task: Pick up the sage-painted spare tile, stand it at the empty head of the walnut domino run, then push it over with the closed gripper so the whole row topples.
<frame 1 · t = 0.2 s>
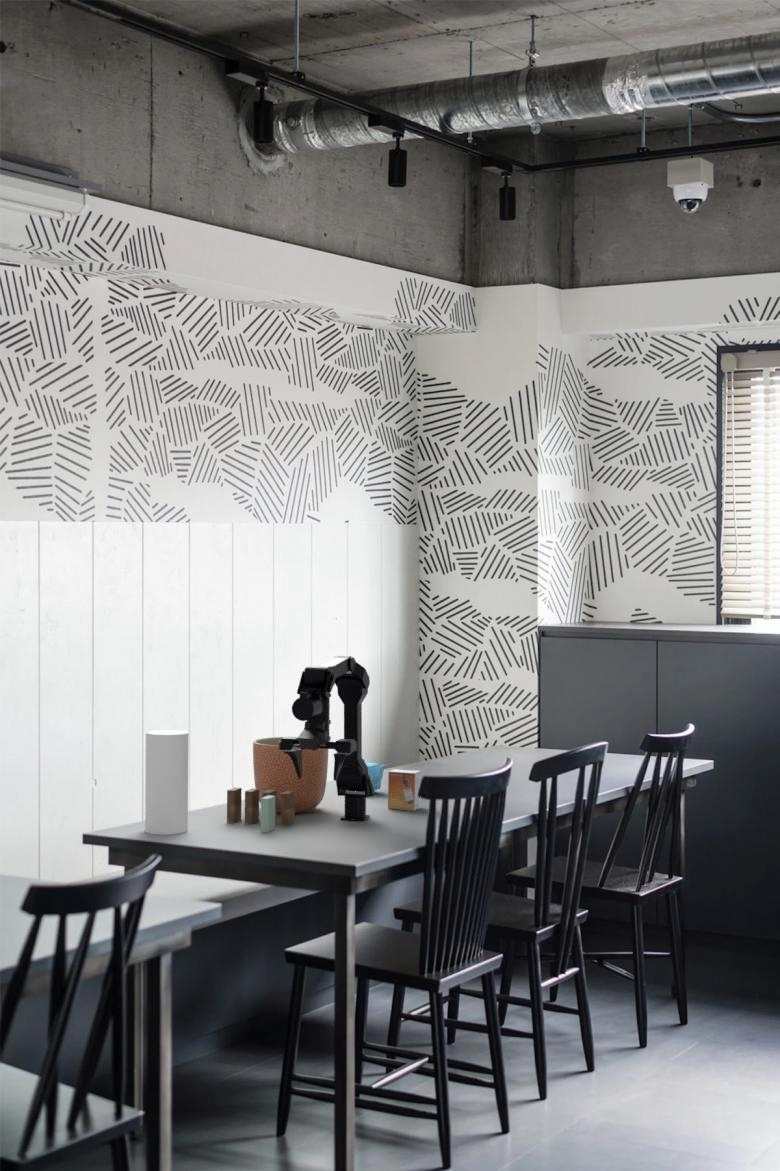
hand: (317, 779, 356), 14 cm above the table, fingers open, 9 cm apart
planter: (290, 810, 395), on the table
domino 2: (269, 823, 374), on the table
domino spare: (267, 830, 365), on the table
tall pillar cylinder: (166, 831, 363), on the table
domino 4: (234, 821, 377), on the table
domino 1: (287, 824, 373), on the table
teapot: (362, 793, 426), on the table
small box: (404, 809, 399), on the table
domino 3: (251, 822, 375), on the table
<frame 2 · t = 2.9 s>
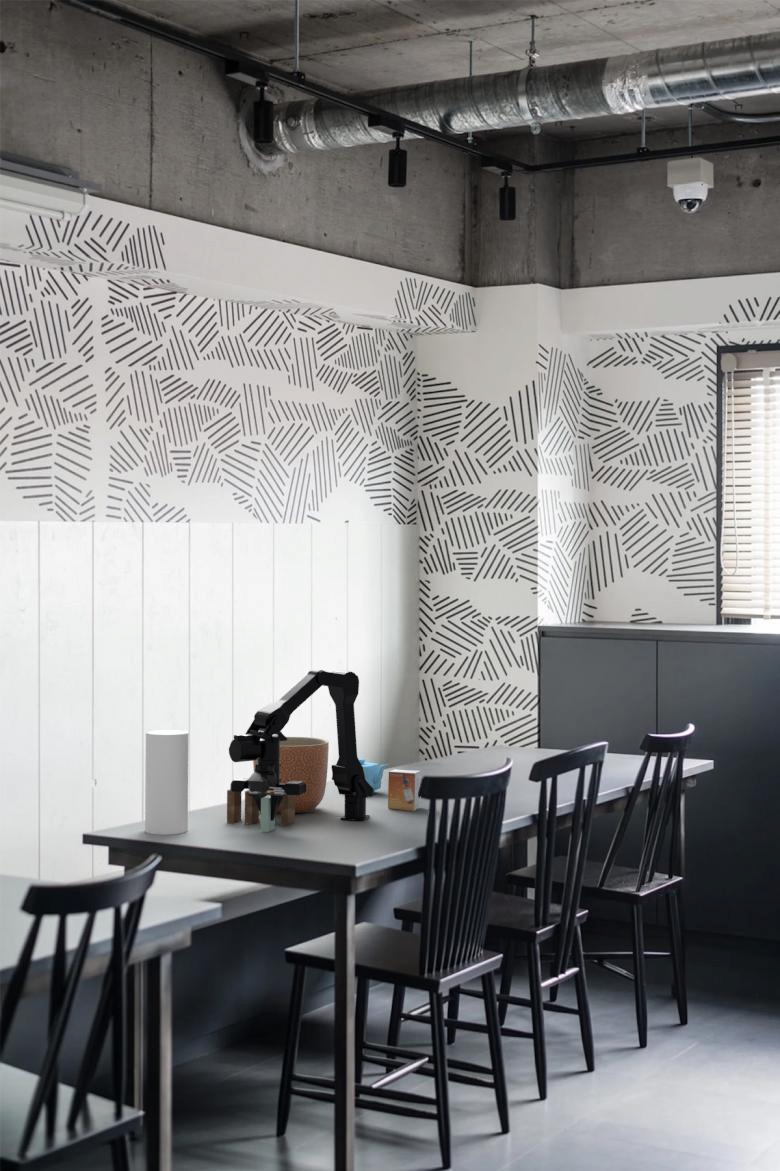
hand: (268, 820, 365), 3 cm above the table, fingers closed on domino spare, 2 cm apart
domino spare: (267, 830, 365), on the table, touching gripper
everything else where it was.
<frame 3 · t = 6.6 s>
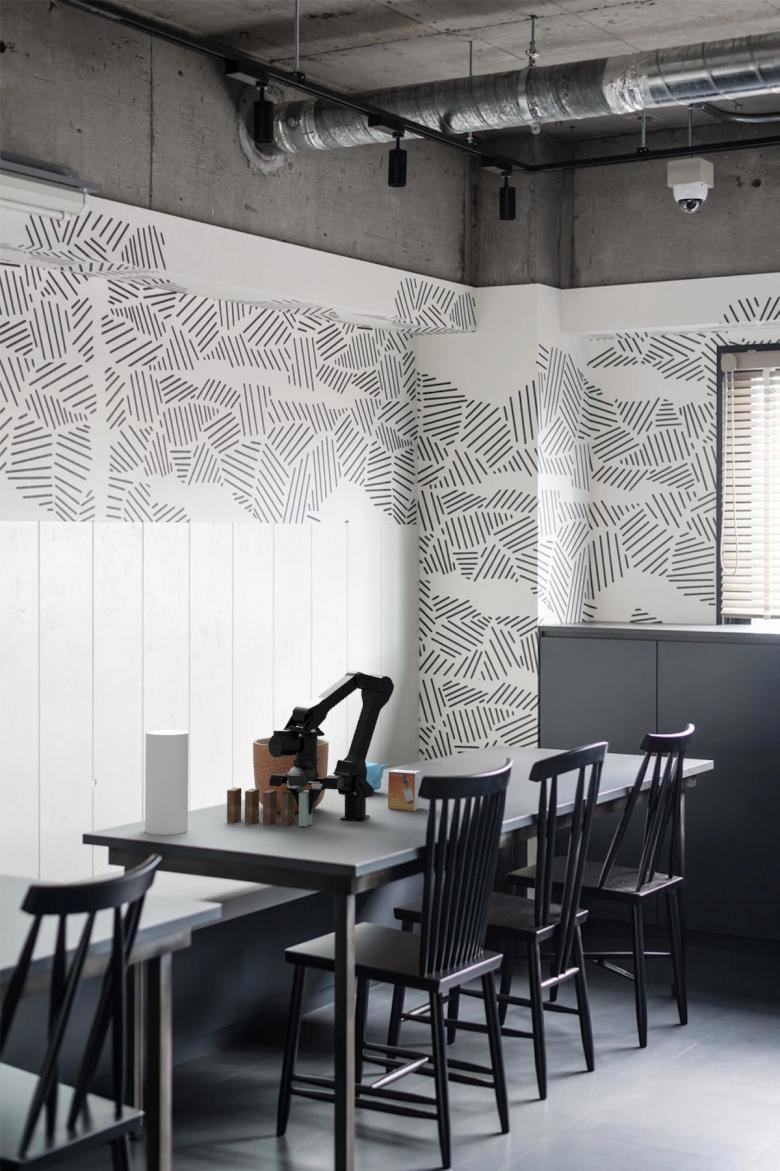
hand: (305, 814, 371), 3 cm above the table, fingers closed on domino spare, 2 cm apart
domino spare: (305, 824, 371), on the table, touching gripper
domino 1: (287, 824, 373), on the table, touching gripper
everything else where it was.
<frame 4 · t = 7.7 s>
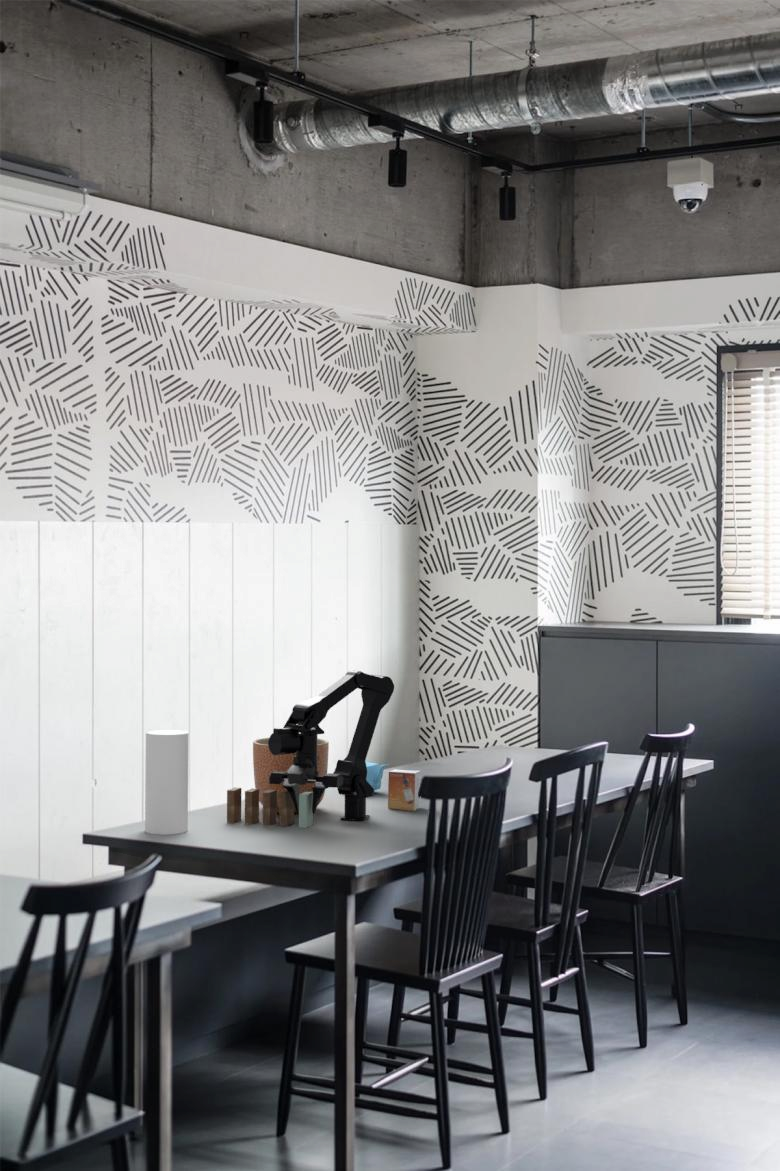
hand: (305, 812, 371), 4 cm above the table, fingers open, 4 cm apart
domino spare: (305, 825, 371), on the table
domino 1: (287, 824, 373), on the table, tilted 7°
everything else where it was.
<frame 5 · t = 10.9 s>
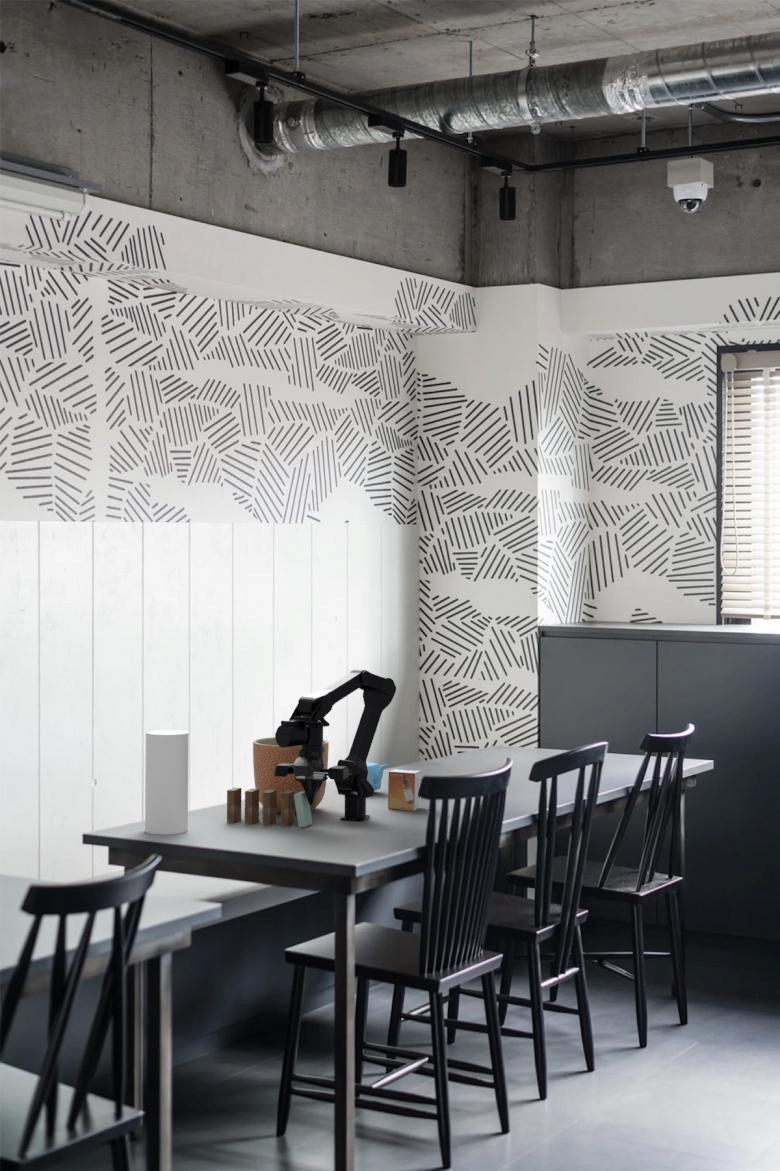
hand: (311, 804, 371), 6 cm above the table, fingers closed
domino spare: (305, 825, 371), on the table, tilted 10°
domino 1: (287, 824, 373), on the table
everything else where it was.
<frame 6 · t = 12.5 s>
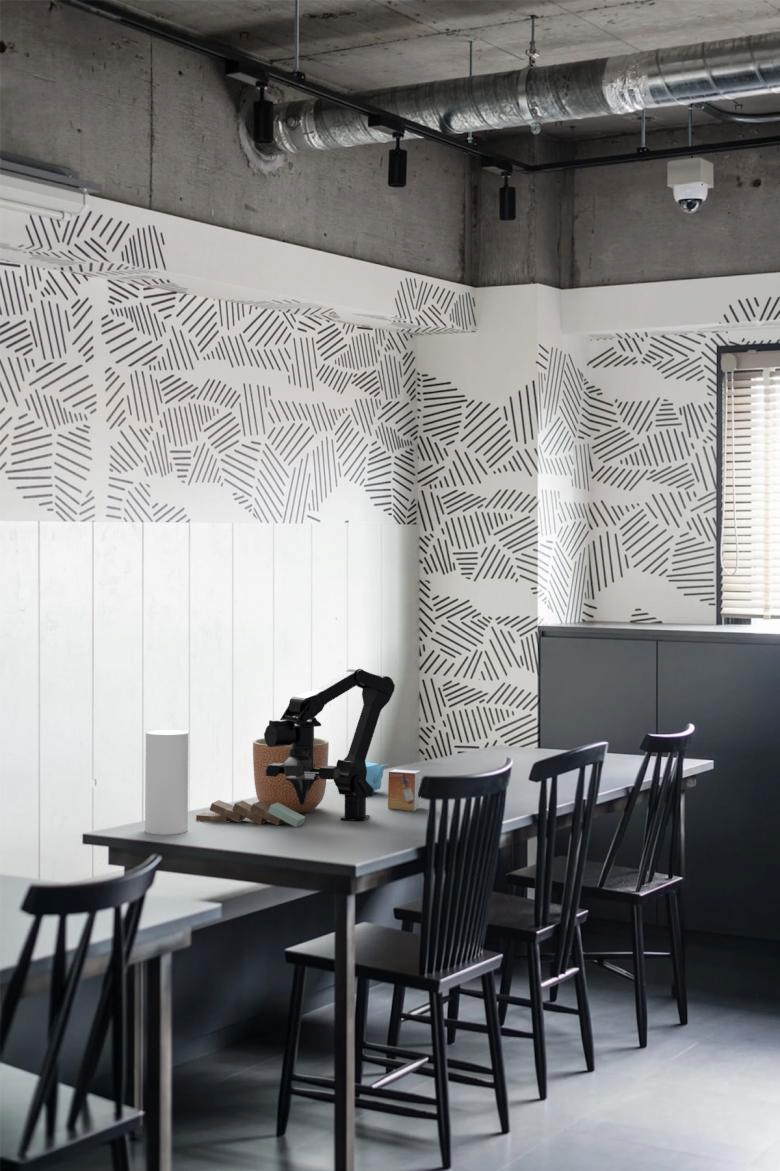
hand: (302, 804, 371), 5 cm above the table, fingers closed
domino 2: (264, 819, 375), point 1 cm above the table, tilted 67°
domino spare: (300, 822, 372), point 1 cm above the table, tilted 67°, touching domino 1
domino 4: (229, 819, 377), on the table, tilted 90°, touching domino 3
domino 1: (282, 820, 373), point 1 cm above the table, tilted 67°, touching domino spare
domino 3: (242, 816, 376), point 1 cm above the table, tilted 72°, touching domino 4
everything else where it was.
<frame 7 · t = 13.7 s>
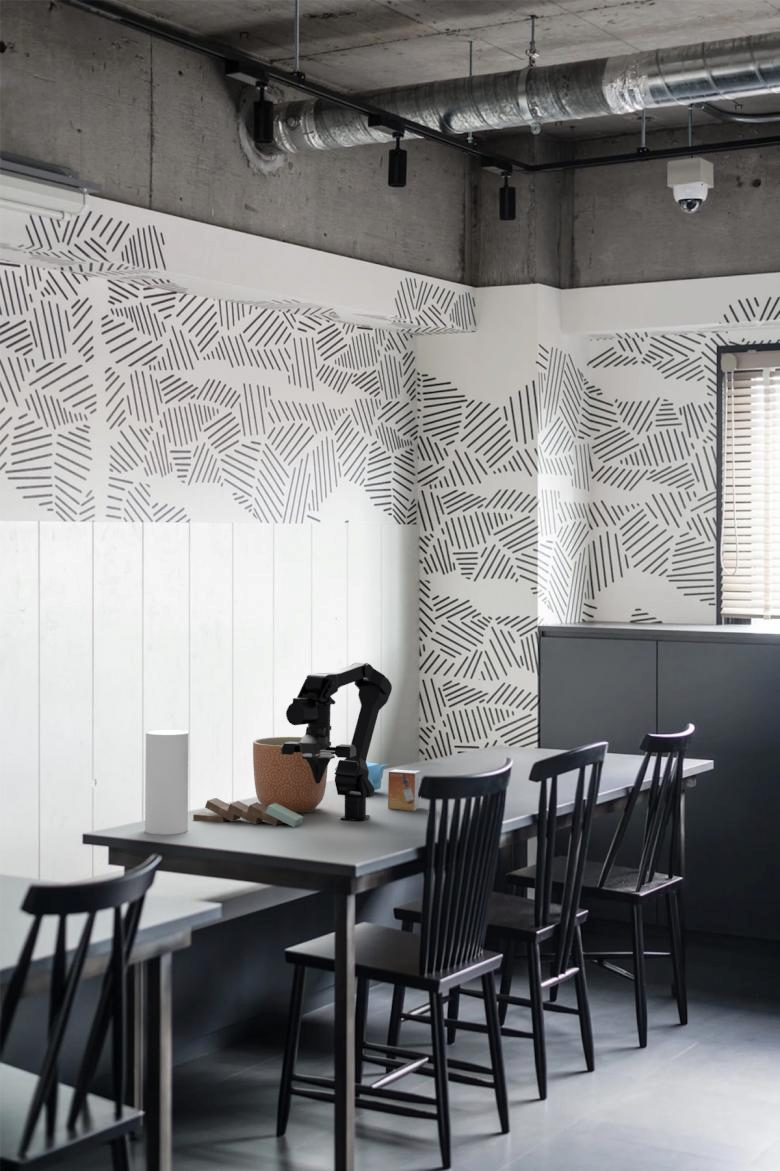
hand: (317, 783, 368), 12 cm above the table, fingers closed
domino 2: (260, 819, 375), point 1 cm above the table, tilted 69°, touching domino 3
domino 4: (226, 818, 378), on the table, tilted 90°, touching domino 3
domino 3: (237, 816, 377), point 1 cm above the table, tilted 68°, touching domino 2, domino 4
everything else where it was.
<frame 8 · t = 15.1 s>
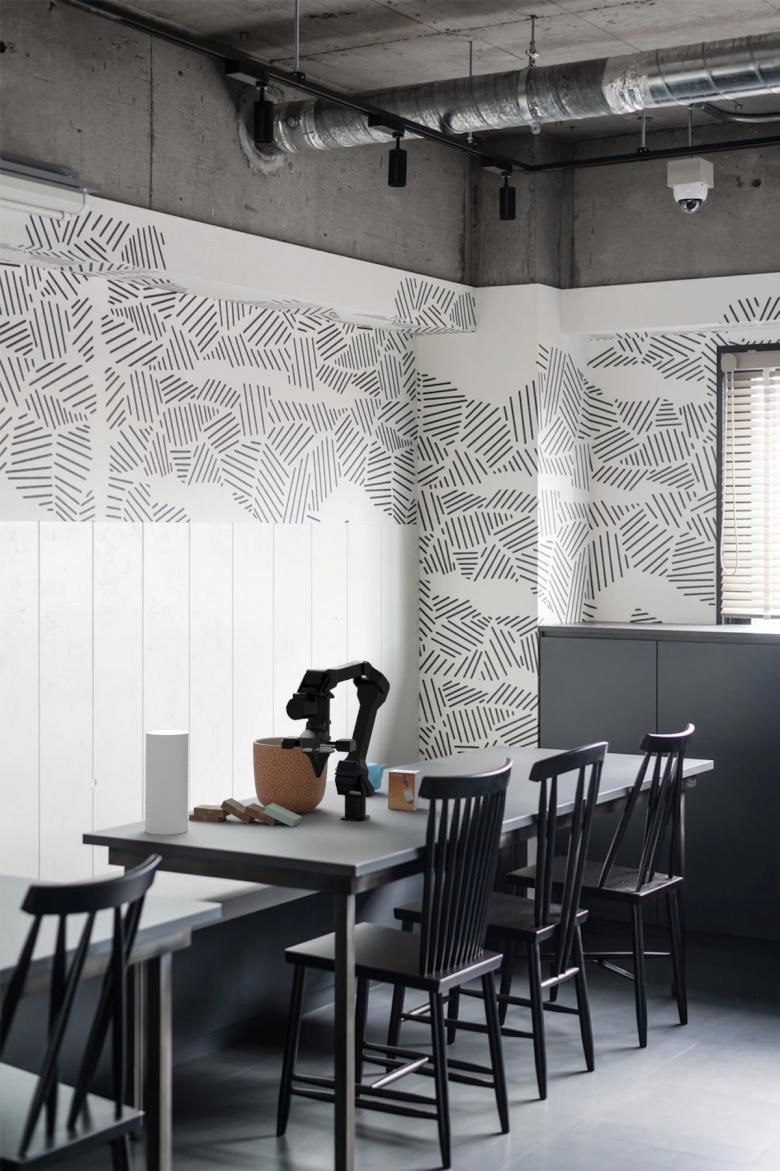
hand: (318, 777, 368), 13 cm above the table, fingers closed
domino 2: (252, 818, 376), point 1 cm above the table, tilted 64°, touching domino 1, domino 3
domino 4: (222, 819, 378), on the table, tilted 90°, touching domino 3
domino 1: (277, 820, 374), point 1 cm above the table, tilted 71°, touching domino 2, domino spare
domino 3: (226, 812, 377), point 2 cm above the table, tilted 90°, touching domino 2, domino 4
at the end: domino 4 tilted 90°; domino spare tilted 68° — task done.
